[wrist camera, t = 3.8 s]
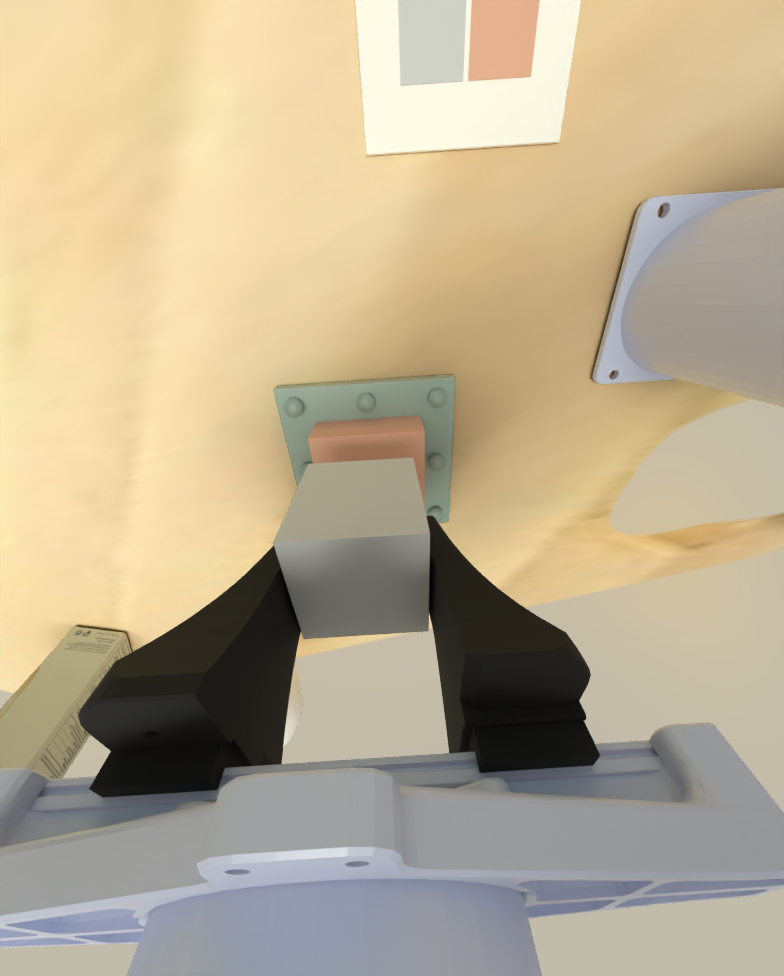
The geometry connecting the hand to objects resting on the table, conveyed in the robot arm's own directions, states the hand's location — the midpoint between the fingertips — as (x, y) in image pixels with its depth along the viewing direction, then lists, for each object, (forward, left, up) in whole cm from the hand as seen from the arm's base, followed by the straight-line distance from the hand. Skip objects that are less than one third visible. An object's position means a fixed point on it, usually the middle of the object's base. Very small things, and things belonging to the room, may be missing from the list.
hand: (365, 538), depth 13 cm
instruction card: (-5, -17, -8) cm, 19 cm away
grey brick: (0, -1, -2) cm, 2 cm away
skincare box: (+27, +18, -9) cm, 34 cm away
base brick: (0, 0, -8) cm, 8 cm away
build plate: (0, 0, -8) cm, 8 cm away
